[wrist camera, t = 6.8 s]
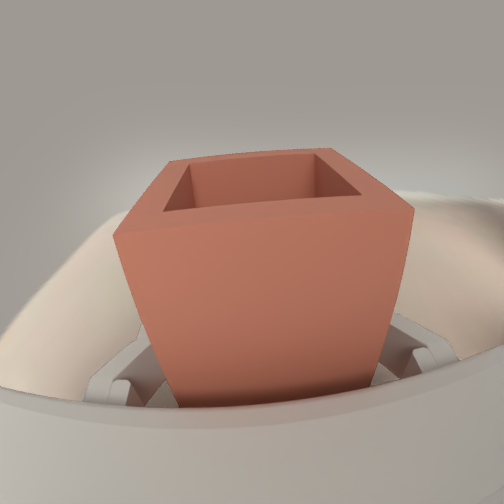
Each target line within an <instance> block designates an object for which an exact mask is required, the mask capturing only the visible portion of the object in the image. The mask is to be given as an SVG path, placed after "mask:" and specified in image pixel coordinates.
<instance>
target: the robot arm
mask: <svg viewBox="0 0 504 504" xmlns="http://www.w3.org/2000/svg"><path fill="white" fill-rule="evenodd" d="M379 362H380V363H381V364H383V365H384V366H385V367H386V368H387V369H389V370H390V371H391V372H392V373H394V374H395V375H396V376H397V377H398V378H400V380H396V381H392V382H388V383H384V384H380V385H376V386H372V387H367V388H363V389H358V390H353V391H348V392H343V393H338V394H332V395H326V396H320V397H314V398H307V399H300V400H293V401H285V402H276V403H267V404H256V405H244V406H228V407H203V408H159V407H145V405H146V403H147V402H148V401H149V400H150V398H151V397H152V396H153V394H154V393H155V392H156V391H157V389H158V388H159V387H160V386H161V384H162V383H163V382H164V381H165V379H166V377H165V375H164V373H163V371H162V369H161V366H160V364H159V362H158V359H157V357H156V355H155V353H154V350H153V348H152V345H151V343H150V341H149V338H148V336H147V333H146V331H145V328H144V326H143V323H142V324H141V327H140V330H139V333H138V337H137V340H136V341H132V342H131V343H130V344H129V345H128V346H126V347H125V348H124V349H123V350H122V351H121V352H120V353H118V354H117V355H116V356H115V357H114V358H113V359H111V360H110V361H109V362H108V363H107V364H106V365H104V366H103V367H102V368H101V369H100V370H99V371H98V372H96V373H95V374H94V375H93V376H92V377H91V379H90V382H89V385H88V387H87V390H86V393H85V396H84V399H83V402H80V401H73V400H66V399H59V398H53V397H47V396H42V395H37V394H31V393H27V392H22V391H17V390H13V389H9V388H5V387H1V386H0V504H504V344H502V345H500V346H497V347H495V348H492V349H490V350H488V351H485V352H483V353H480V354H477V355H475V356H472V357H469V358H467V359H464V360H461V361H459V359H458V357H457V356H456V354H455V352H454V351H453V349H452V348H451V346H450V345H449V343H448V341H447V340H446V339H444V338H442V337H440V336H439V335H437V334H435V333H433V332H431V331H429V330H428V329H426V328H424V327H422V326H420V325H418V324H417V323H415V322H413V321H411V320H409V319H407V318H406V317H404V316H402V315H400V314H397V315H396V314H395V312H394V311H393V315H392V318H391V322H390V325H389V329H388V332H387V336H386V339H385V342H384V345H383V348H382V352H381V355H380V358H379Z"/></svg>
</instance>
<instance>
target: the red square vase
mask: <svg viewBox="0 0 504 504" xmlns="http://www.w3.org/2000/svg"><path fill="white" fill-rule="evenodd" d="M414 210H415V209H414V208H413V207H412V206H411V205H409V204H408V203H407V202H406V201H404V200H403V199H402V198H401V197H399V196H398V195H397V194H395V193H394V192H393V191H391V190H390V189H389V188H388V187H386V186H385V185H383V184H382V183H381V182H379V181H378V180H377V179H375V178H374V177H373V176H371V175H370V174H368V173H367V172H366V171H364V170H363V169H361V168H360V167H358V166H357V165H355V164H354V163H353V162H351V161H350V160H348V159H347V158H345V157H344V156H342V155H341V154H339V153H338V152H336V151H334V150H333V149H331V148H317V149H293V150H275V151H260V152H247V153H236V154H226V155H216V156H207V157H199V158H191V159H183V160H176V161H170V162H169V163H168V164H167V165H166V166H165V168H164V169H163V170H162V171H161V173H160V174H159V175H158V176H157V177H156V178H155V180H154V181H153V182H152V183H151V185H150V186H149V187H148V188H147V190H146V191H145V192H144V193H143V195H142V196H141V197H140V199H139V200H138V201H137V202H136V204H135V205H134V206H133V208H132V209H131V210H130V212H129V213H128V214H127V216H126V217H125V218H124V220H123V221H122V222H121V224H120V225H119V227H118V228H117V229H116V231H115V232H114V233H113V238H114V241H115V245H116V248H117V251H118V255H119V258H120V261H121V264H122V267H123V270H124V273H125V276H126V279H127V282H128V285H129V288H130V291H131V294H132V296H133V299H134V302H135V305H136V307H137V310H138V313H139V315H140V318H141V321H142V323H143V326H144V328H145V331H146V333H147V336H148V338H149V341H150V343H151V345H152V348H153V350H154V353H155V355H156V357H157V359H158V362H159V364H160V366H161V369H162V371H163V373H164V375H165V377H166V380H167V382H168V384H169V386H170V388H171V390H172V392H173V394H174V396H175V398H176V401H177V403H178V405H179V407H180V408H203V407H228V406H244V405H256V404H267V403H276V402H285V401H293V400H300V399H307V398H314V397H320V396H326V395H332V394H338V393H343V392H348V391H353V390H358V389H363V388H367V387H369V386H370V383H371V381H372V378H373V375H374V372H375V369H376V367H377V364H378V361H379V358H380V355H381V352H382V348H383V345H384V342H385V339H386V336H387V332H388V329H389V325H390V322H391V318H392V315H393V311H394V307H395V303H396V300H397V296H398V292H399V287H400V283H401V279H402V275H403V270H404V265H405V261H406V256H407V251H408V245H409V240H410V234H411V229H412V223H413V216H414Z"/></svg>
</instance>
